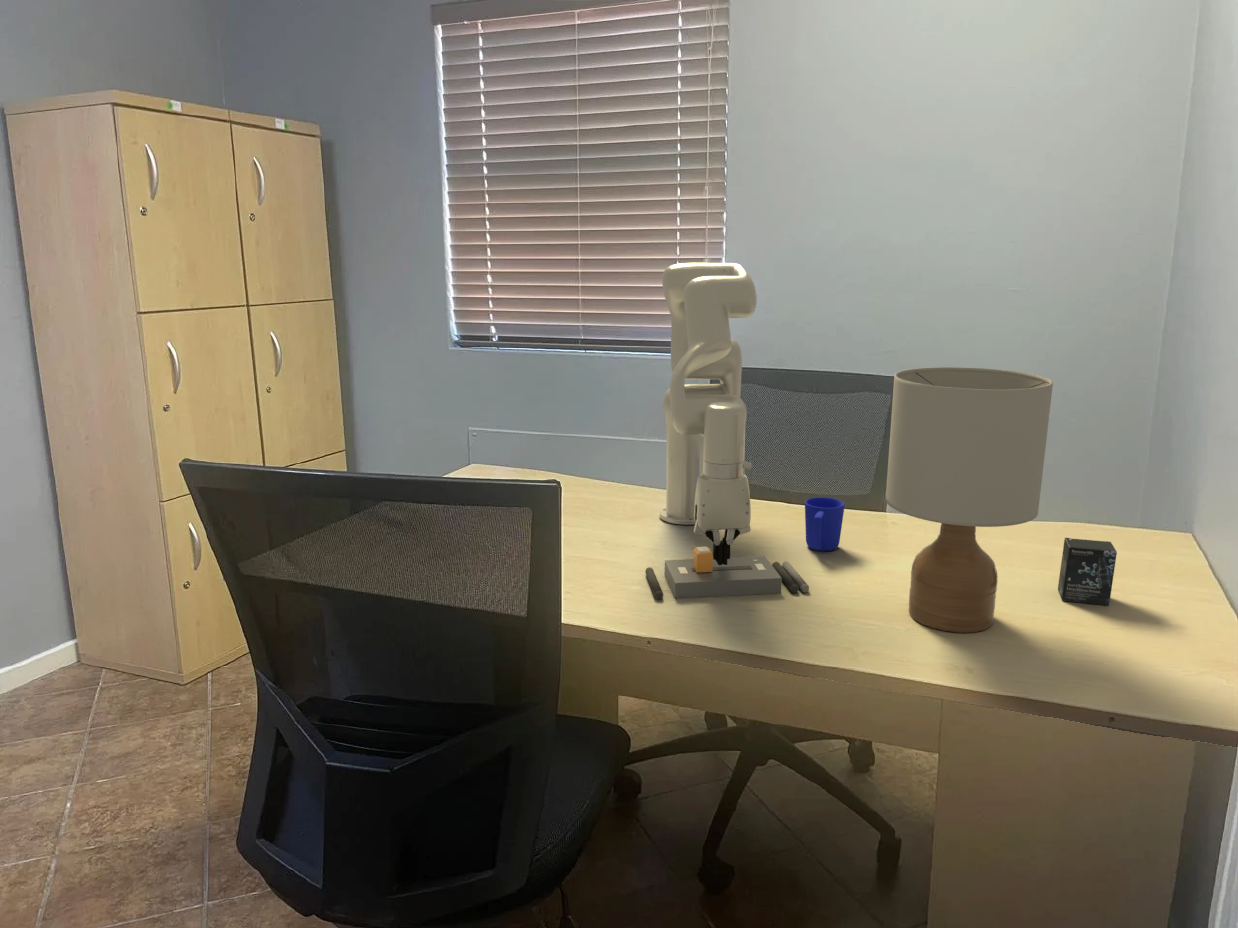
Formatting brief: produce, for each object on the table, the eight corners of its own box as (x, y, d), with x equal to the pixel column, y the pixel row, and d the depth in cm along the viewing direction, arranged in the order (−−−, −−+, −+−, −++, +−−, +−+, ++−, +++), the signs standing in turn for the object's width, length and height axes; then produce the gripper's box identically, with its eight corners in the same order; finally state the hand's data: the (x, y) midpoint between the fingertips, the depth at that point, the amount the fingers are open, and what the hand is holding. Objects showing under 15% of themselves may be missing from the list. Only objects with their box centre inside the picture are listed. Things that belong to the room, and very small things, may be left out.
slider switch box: (664, 574, 177) (664, 559, 176) (763, 570, 179) (764, 555, 178) (675, 598, 166) (675, 582, 165) (781, 593, 168) (781, 577, 167)
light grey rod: (780, 567, 180) (781, 560, 180) (788, 567, 181) (789, 560, 180) (801, 593, 167) (802, 585, 167) (810, 593, 167) (810, 585, 167)
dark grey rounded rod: (644, 574, 177) (644, 566, 177) (652, 573, 178) (652, 566, 177) (655, 600, 164) (655, 592, 164) (663, 600, 165) (663, 592, 164)
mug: (795, 556, 187) (797, 510, 184) (806, 539, 197) (808, 495, 195) (835, 562, 184) (838, 515, 181) (844, 543, 194) (847, 499, 192)
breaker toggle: (693, 565, 173) (693, 546, 172) (708, 565, 173) (708, 545, 172) (696, 572, 169) (697, 552, 168) (712, 571, 170) (712, 551, 169)
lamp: (863, 590, 169) (878, 367, 159) (993, 591, 168) (1016, 367, 158) (898, 646, 146) (918, 389, 135) (1049, 648, 145) (1080, 390, 135)
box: (1061, 601, 163) (1068, 546, 161) (1057, 590, 169) (1063, 536, 166) (1110, 606, 161) (1117, 550, 158) (1103, 595, 166) (1111, 540, 164)
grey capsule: (771, 568, 180) (771, 560, 180) (779, 567, 180) (779, 560, 180) (791, 594, 167) (791, 586, 167) (799, 593, 167) (800, 585, 167)
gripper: (757, 463, 171) (754, 554, 176) (680, 465, 170) (679, 557, 174) (768, 473, 164) (765, 567, 169) (687, 476, 162) (686, 571, 167)
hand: (721, 562), depth 171 cm, fingers closed
